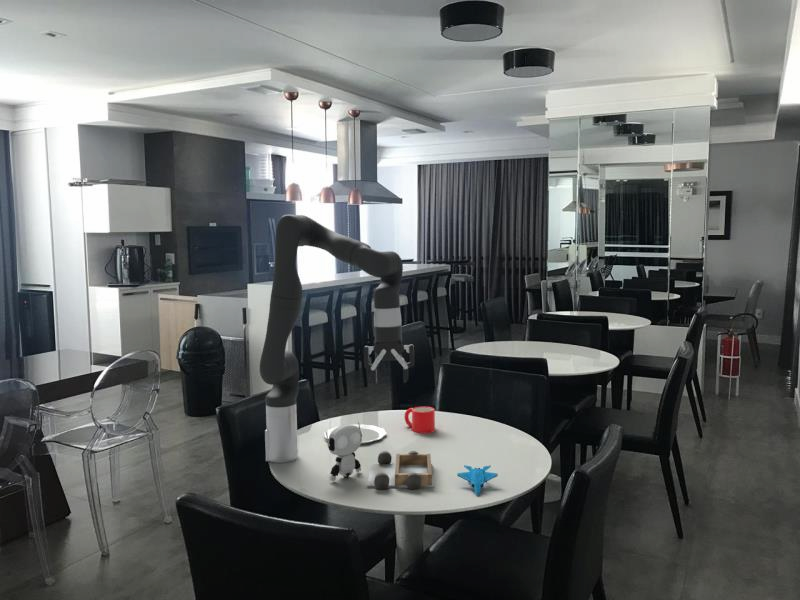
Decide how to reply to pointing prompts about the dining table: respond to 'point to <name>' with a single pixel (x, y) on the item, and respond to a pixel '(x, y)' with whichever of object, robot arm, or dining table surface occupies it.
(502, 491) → the dining table surface
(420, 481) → the chassis
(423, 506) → the dining table surface
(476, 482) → the toy airplane
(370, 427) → the plate
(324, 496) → the dining table surface
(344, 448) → the robot toy
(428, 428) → the mug
